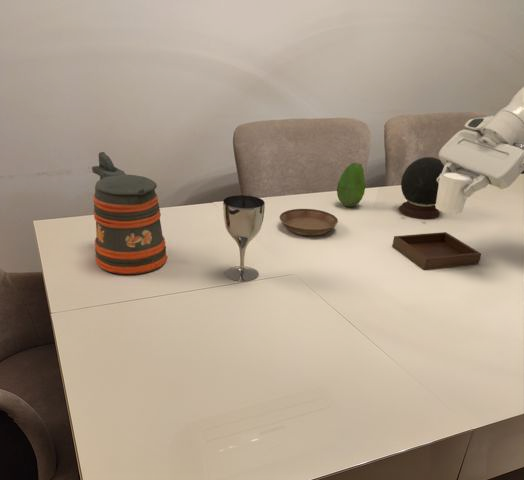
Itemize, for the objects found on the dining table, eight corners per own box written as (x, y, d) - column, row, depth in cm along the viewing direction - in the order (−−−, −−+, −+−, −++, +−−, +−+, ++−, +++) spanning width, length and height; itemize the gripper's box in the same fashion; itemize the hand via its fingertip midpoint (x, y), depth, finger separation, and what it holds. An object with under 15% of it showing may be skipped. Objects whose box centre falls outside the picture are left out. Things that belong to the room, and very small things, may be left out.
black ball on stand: (396, 202, 150) (407, 149, 141) (442, 208, 147) (455, 155, 139) (394, 216, 139) (405, 160, 131) (443, 223, 136) (457, 166, 128)
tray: (443, 241, 125) (445, 231, 123) (478, 264, 114) (481, 253, 113) (391, 246, 120) (394, 236, 119) (423, 270, 110) (426, 259, 108)
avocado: (367, 206, 145) (374, 163, 139) (352, 212, 140) (359, 168, 134) (344, 199, 150) (349, 157, 143) (329, 205, 144) (334, 162, 138)
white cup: (435, 201, 113) (442, 169, 109) (466, 207, 110) (475, 174, 106) (429, 210, 108) (437, 177, 104) (462, 216, 105) (472, 182, 101)
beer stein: (74, 250, 109) (57, 155, 98) (133, 236, 117) (124, 146, 106) (118, 282, 98) (105, 177, 87) (180, 263, 106) (176, 166, 95)
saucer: (295, 242, 120) (296, 231, 118) (269, 221, 131) (270, 211, 129) (347, 235, 125) (349, 225, 123) (318, 216, 136) (319, 206, 135)
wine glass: (257, 284, 100) (260, 210, 92) (218, 279, 101) (218, 205, 93) (263, 267, 107) (267, 197, 98) (227, 263, 108) (228, 193, 99)
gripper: (545, 161, 98) (490, 214, 100) (474, 138, 114) (428, 184, 116) (536, 137, 94) (479, 193, 96) (464, 117, 110) (417, 165, 112)
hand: (451, 188), depth 106 cm, fingers closed on white cup, 7 cm apart
